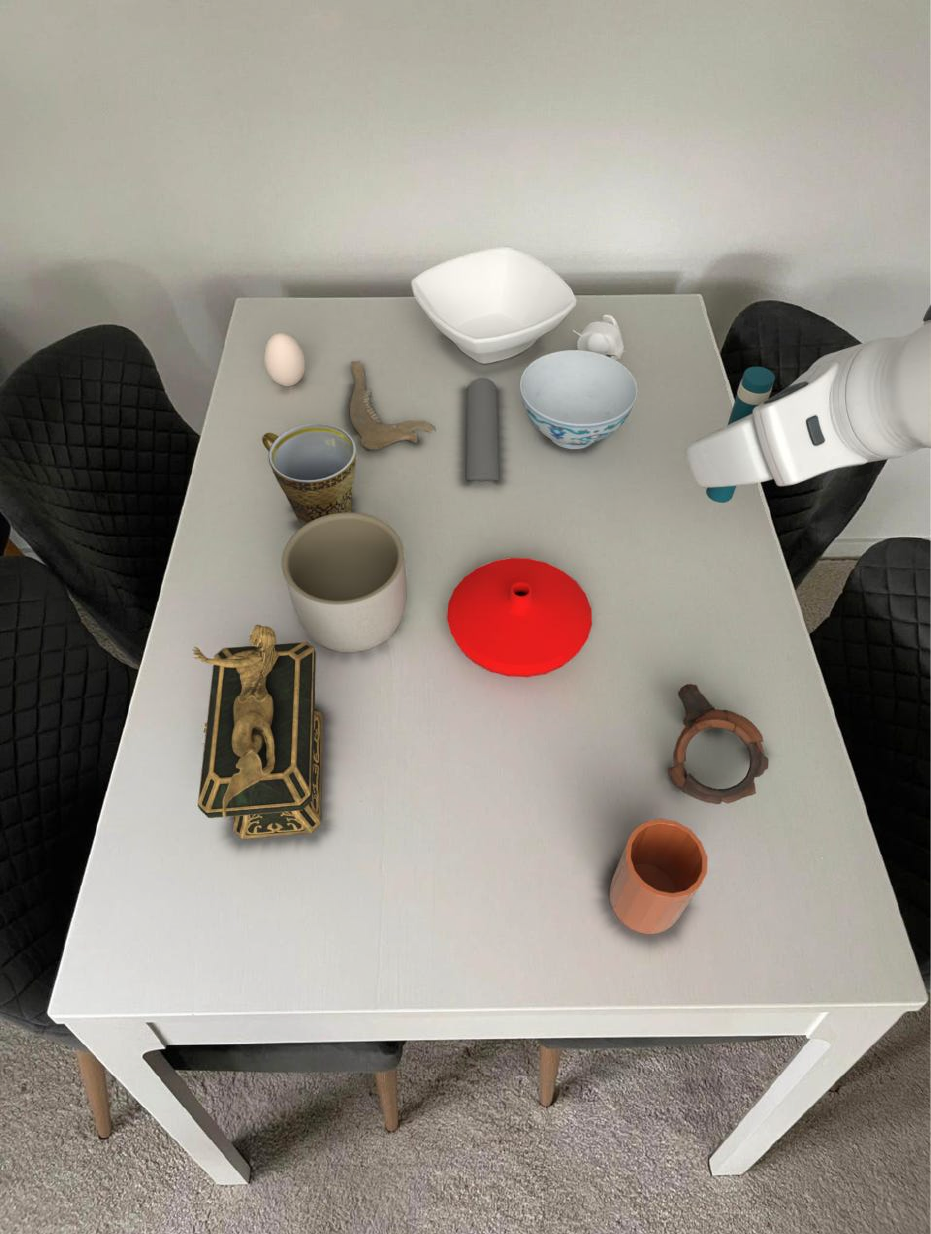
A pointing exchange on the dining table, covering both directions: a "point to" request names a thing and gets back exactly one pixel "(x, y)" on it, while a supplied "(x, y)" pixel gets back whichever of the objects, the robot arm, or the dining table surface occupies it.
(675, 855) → the tumbler
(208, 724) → the decorative box
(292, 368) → the egg
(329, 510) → the ceramic cup
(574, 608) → the red disc with nozzle
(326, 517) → the planter
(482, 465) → the half round rod
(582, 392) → the chinaware
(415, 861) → the dining table surface
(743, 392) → the teal banded tube
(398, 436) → the jawbone
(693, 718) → the broken brown pottery vessel
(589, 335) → the elephant figurine
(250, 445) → the dining table surface
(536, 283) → the bowl
